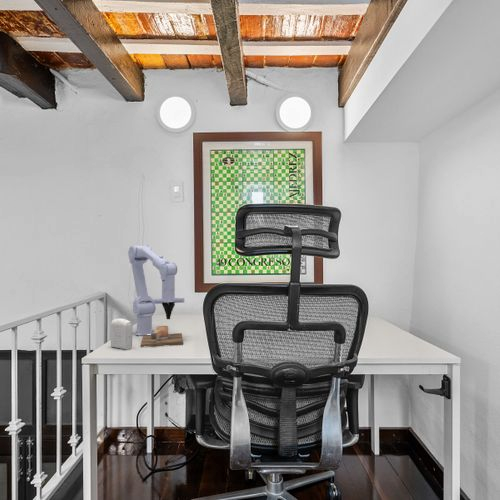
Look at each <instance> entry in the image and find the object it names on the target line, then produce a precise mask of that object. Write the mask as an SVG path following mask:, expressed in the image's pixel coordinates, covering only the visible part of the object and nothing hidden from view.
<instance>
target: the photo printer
mask: <svg viewBox="0 0 500 500" xmlns="http://www.w3.org/2000/svg"><path fill="white" fill-rule="evenodd" d="M110 347H112V348H117V349H121V350H131V349H132V347H133V323H132V322H131V321H130V320H128V319H125V318H115V319H112V320H111V323H110Z"/></svg>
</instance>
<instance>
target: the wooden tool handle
mask: <svg viewBox="0 0 500 500" xmlns="http://www.w3.org/2000/svg"><path fill="white" fill-rule="evenodd" d="M168 334H169V326H168V325H158V326H156V330H155V331H153V333H151V339H156V338H158V337H165V336H168Z"/></svg>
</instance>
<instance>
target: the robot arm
mask: <svg viewBox="0 0 500 500" xmlns="http://www.w3.org/2000/svg"><path fill="white" fill-rule="evenodd" d="M127 254H128V259H129V263H130V264H131V268H132V275H133V281H134V286H135V292H136V298H135V299H134V300H133V302H132V313H133V314H134V316H135V317H136V333H135V336H136V335H138V336H143V335H147V334H151V333H153V332H154V331H153V332H152V330H153V316H154V314H155V312H156V305H157V304H161V305H162V308H163V310H164V312H165V313H164V314H165V317H166V320H171V316H172V312H173V310H174V307H175V304H177V303H178V304H179V303H185V298H184V297H175V295H176V294H175V290H176V289H175V288H176V286H175V281H176V278H175V277H176V275H177V273H178V265H177V264H176V263H175V262H170V261H168V260H167V259H166V258H164V255H158V254H156V253H155V252H154V251H153V249H152V247H151V246H150V245H130V247H129V249H128V253H127ZM148 260H150V261H151V262H152V266H154V267H155V268H156V269H157V270H158V272H159V275H160V279H161V298H155V299H154V298H152V297H151V296H149V294H148V288H147V284H146V283H147V282H146V276H145V272H144V267H143V265H144V264H145V263H147V262H148Z"/></svg>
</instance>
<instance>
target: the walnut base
mask: <svg viewBox="0 0 500 500" xmlns="http://www.w3.org/2000/svg"><path fill="white" fill-rule="evenodd" d="M183 339H184V338H183V334H182V332H180V333H178V332H177V333H168V336H165V337H158V338H156V339H151V335H142V339H141V342H140V348H144V346H151V347H165V346H164V345H169V346H183V345H184V340H183Z"/></svg>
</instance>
